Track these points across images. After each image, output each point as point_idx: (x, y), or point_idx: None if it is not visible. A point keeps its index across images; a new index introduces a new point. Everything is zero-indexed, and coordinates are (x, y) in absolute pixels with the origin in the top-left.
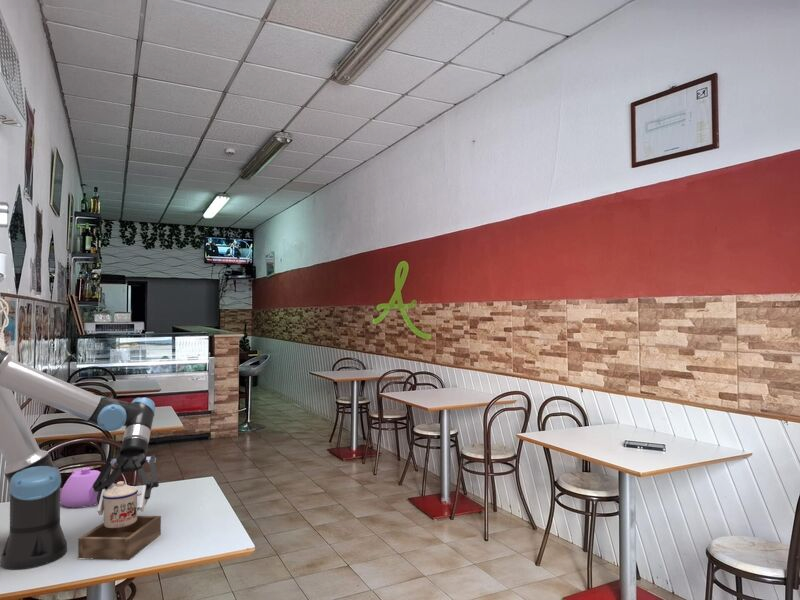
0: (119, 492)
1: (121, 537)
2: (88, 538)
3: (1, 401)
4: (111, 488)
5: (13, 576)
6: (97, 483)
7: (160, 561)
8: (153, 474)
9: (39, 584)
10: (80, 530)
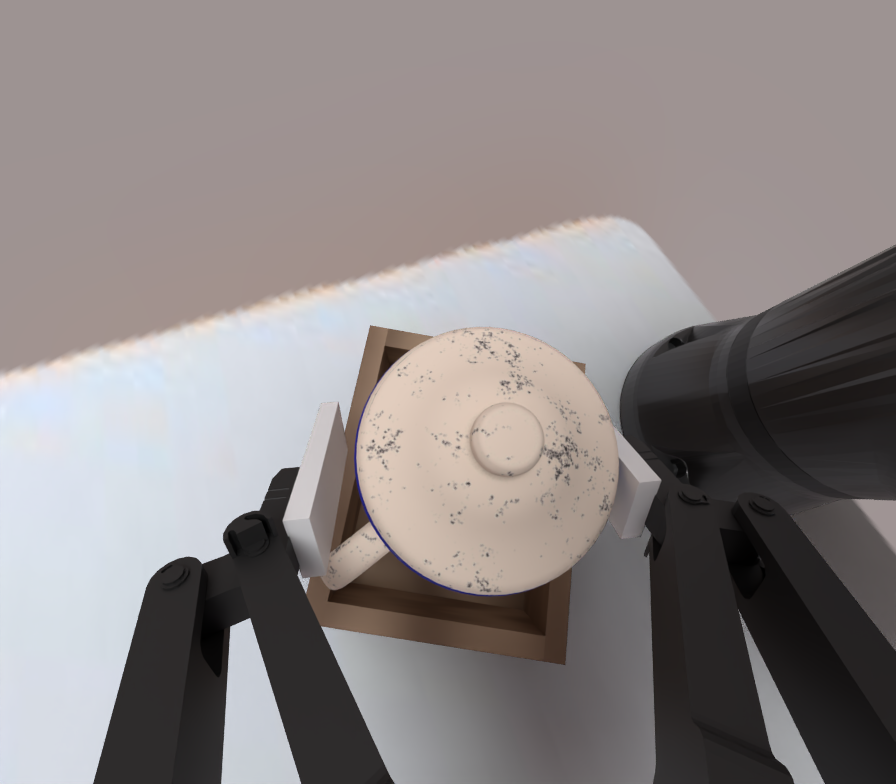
0: (465, 355)
1: (410, 349)
2: None
3: None
4: (566, 418)
5: (678, 295)
6: (764, 526)
7: (268, 327)
8: (160, 676)
9: (573, 239)
10: None
